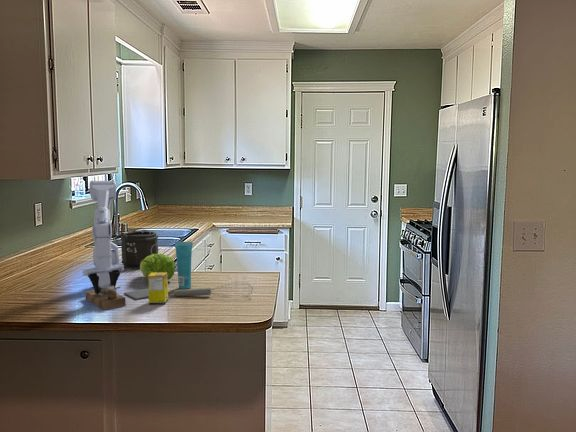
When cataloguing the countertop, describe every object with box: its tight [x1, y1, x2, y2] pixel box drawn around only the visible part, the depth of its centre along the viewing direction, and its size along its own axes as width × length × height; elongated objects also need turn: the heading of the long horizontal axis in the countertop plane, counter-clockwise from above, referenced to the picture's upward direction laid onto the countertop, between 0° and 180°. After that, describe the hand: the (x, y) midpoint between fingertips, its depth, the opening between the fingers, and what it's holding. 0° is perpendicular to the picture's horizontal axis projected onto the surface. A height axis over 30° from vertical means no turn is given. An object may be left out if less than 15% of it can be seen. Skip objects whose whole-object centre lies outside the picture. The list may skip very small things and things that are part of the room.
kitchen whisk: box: [168, 281, 254, 299], centre depth 201 cm, size 6×33×6 cm, turn 88°
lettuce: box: [139, 253, 176, 281], centre depth 228 cm, size 13×22×14 cm
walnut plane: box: [84, 288, 127, 311], centre depth 193 cm, size 18×8×6 cm, turn 40°
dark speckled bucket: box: [120, 230, 159, 269], centre depth 259 cm, size 18×18×16 cm
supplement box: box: [147, 272, 169, 306], centre depth 192 cm, size 6×6×11 cm
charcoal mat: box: [123, 288, 149, 301], centre depth 203 cm, size 11×10×1 cm
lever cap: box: [95, 282, 114, 297], centre depth 193 cm, size 7×4×4 cm, turn 40°
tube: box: [174, 240, 194, 290], centre depth 213 cm, size 7×5×19 cm, turn 89°
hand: (104, 292), depth 193 cm, fingers open, 5 cm apart
